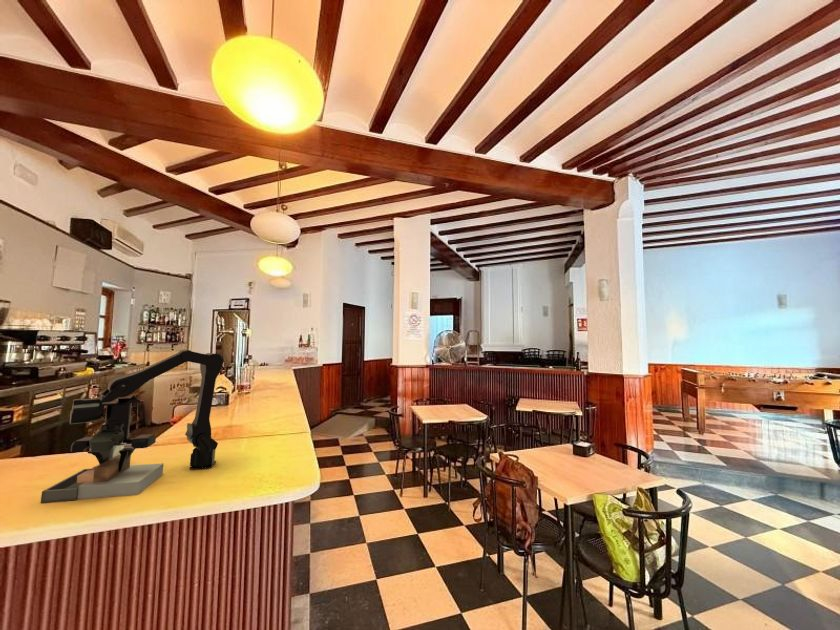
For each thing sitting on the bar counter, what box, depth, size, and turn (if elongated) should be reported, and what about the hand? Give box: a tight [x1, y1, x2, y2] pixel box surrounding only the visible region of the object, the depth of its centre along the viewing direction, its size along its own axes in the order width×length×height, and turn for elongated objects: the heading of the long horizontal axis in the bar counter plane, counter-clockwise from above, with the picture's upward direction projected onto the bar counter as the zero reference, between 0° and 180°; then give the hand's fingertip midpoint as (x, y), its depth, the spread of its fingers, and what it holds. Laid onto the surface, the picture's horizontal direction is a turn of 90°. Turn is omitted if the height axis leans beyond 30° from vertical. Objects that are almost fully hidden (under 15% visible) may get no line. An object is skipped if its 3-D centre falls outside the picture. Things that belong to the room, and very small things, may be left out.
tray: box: [40, 468, 92, 504], centre depth 98 cm, size 8×16×3 cm, turn 16°
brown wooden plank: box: [93, 455, 132, 482], centre depth 100 cm, size 4×11×4 cm, turn 16°
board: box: [77, 462, 164, 500], centre depth 100 cm, size 14×15×4 cm
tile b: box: [77, 470, 94, 483], centre depth 96 cm, size 4×4×2 cm
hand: (112, 471), depth 100 cm, fingers closed on brown wooden plank, 3 cm apart
